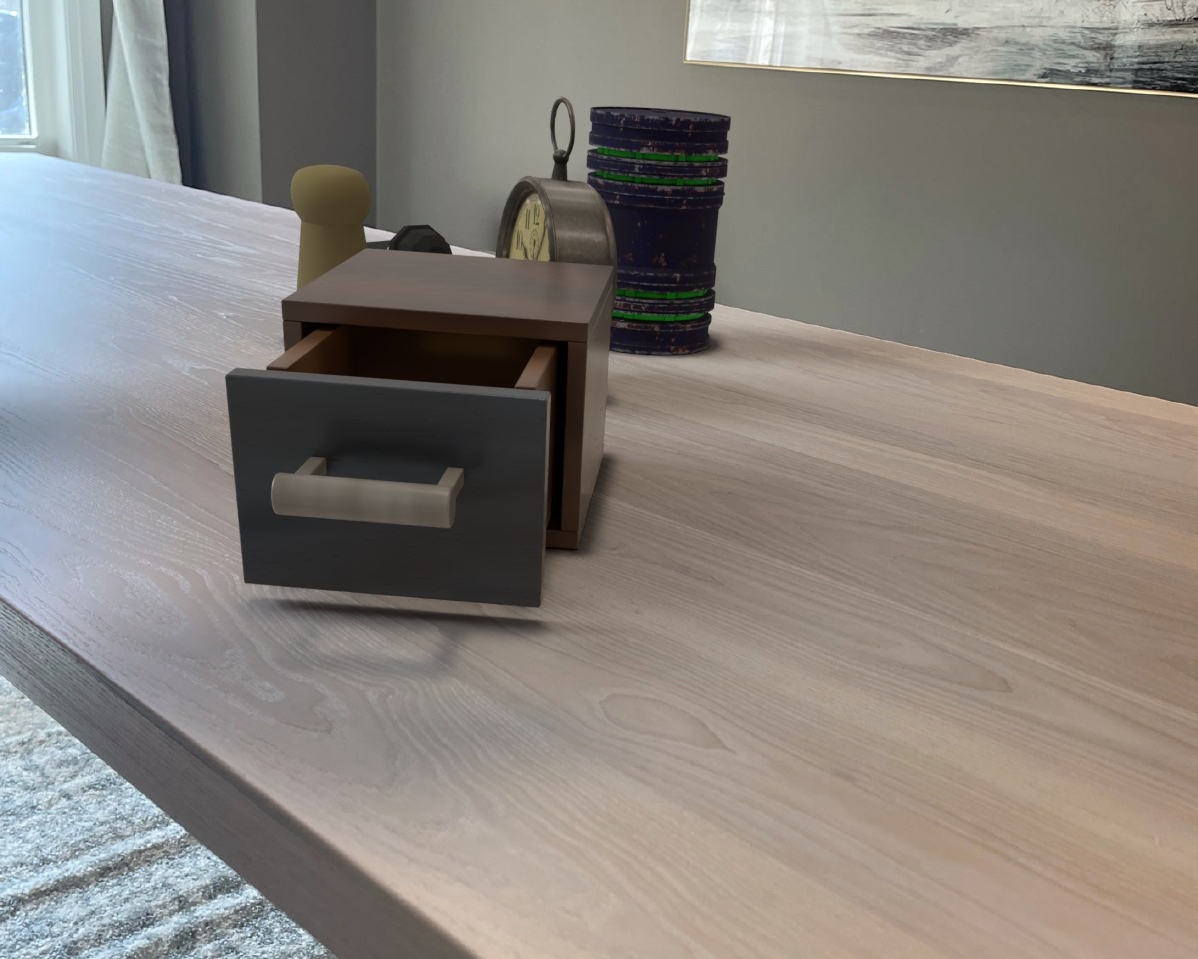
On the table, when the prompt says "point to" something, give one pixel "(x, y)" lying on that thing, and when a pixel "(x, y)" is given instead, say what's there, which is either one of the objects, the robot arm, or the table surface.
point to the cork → (329, 217)
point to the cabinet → (487, 333)
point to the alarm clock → (558, 216)
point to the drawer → (400, 463)
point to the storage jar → (661, 221)
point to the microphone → (414, 241)
